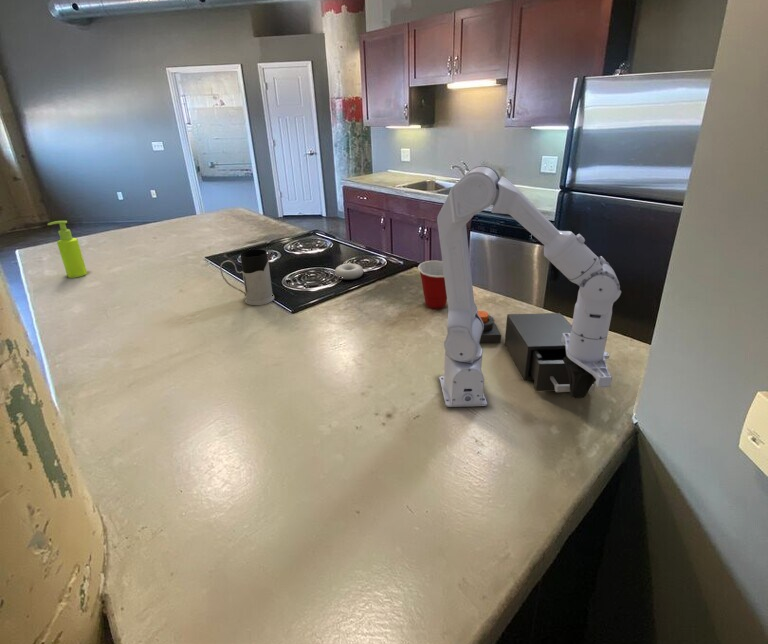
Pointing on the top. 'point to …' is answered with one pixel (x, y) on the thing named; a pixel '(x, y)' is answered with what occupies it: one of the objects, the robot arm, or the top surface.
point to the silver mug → (255, 277)
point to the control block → (490, 332)
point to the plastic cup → (433, 284)
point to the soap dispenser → (70, 252)
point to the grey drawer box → (533, 336)
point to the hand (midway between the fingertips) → (577, 396)
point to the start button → (483, 316)
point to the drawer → (550, 370)
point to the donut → (349, 271)
